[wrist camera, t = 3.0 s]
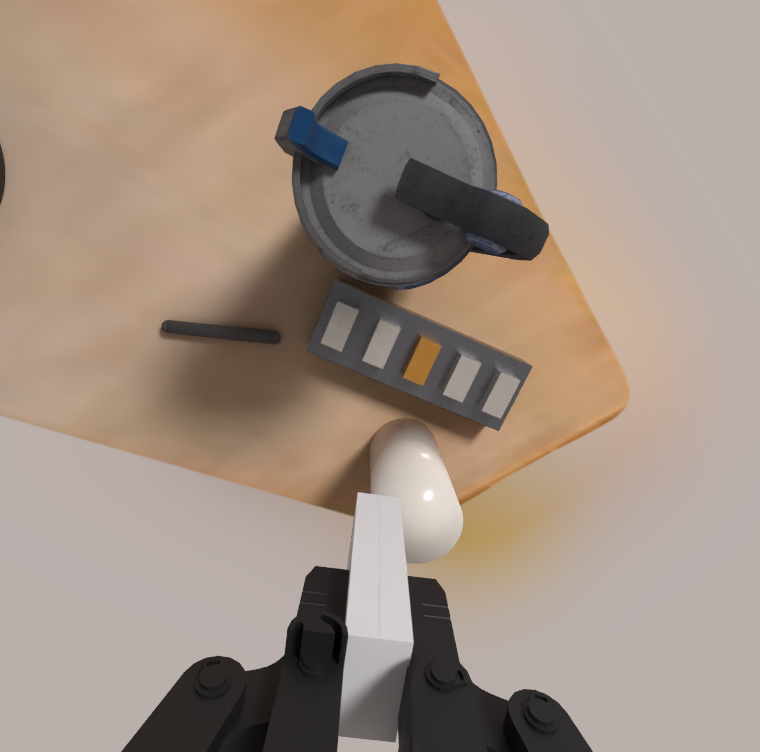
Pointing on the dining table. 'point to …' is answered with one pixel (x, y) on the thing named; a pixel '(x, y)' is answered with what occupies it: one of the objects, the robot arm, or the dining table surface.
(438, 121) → the beverage bottle
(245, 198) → the dining table surface
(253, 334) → the dark gray rod
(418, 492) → the white glossy cylinder
